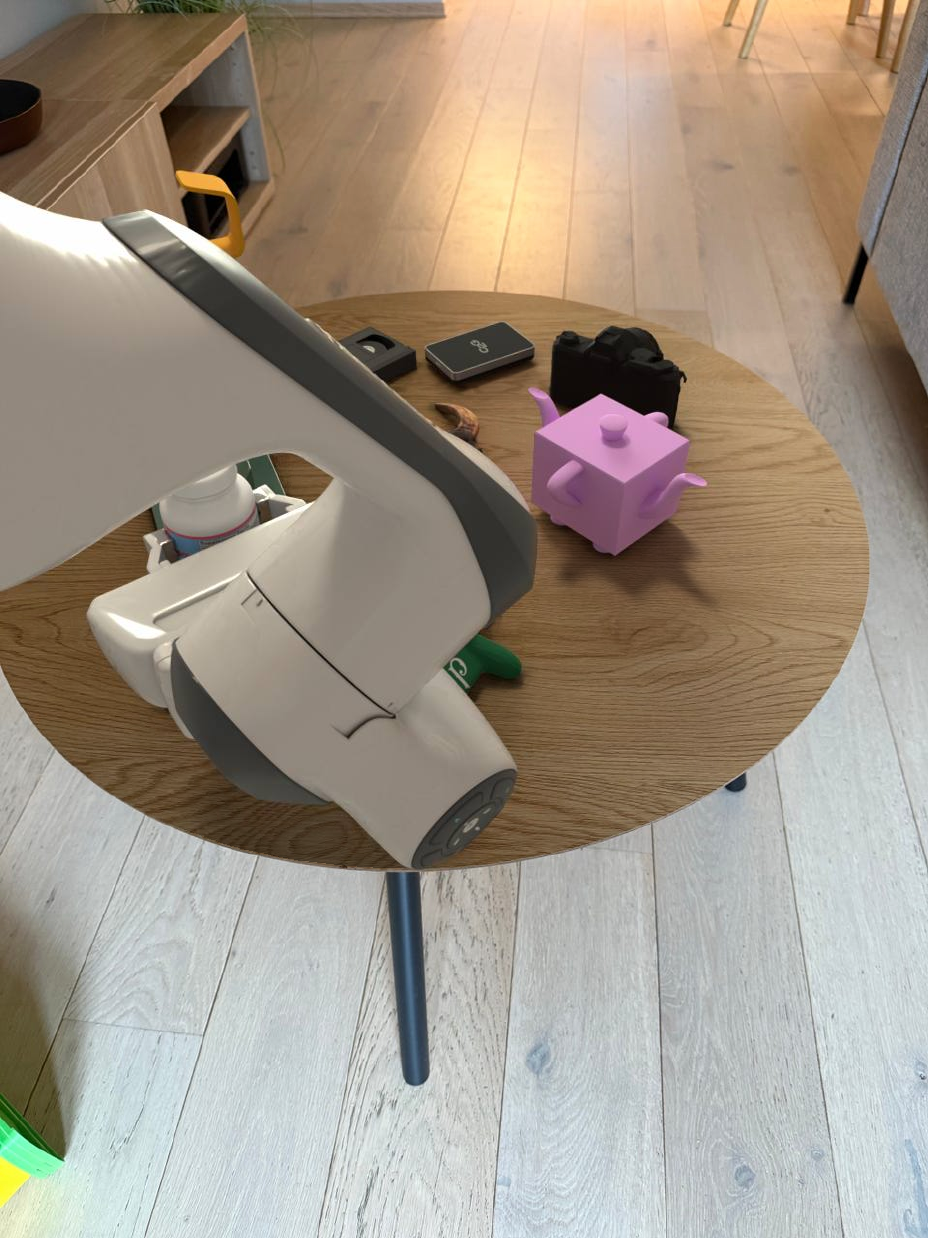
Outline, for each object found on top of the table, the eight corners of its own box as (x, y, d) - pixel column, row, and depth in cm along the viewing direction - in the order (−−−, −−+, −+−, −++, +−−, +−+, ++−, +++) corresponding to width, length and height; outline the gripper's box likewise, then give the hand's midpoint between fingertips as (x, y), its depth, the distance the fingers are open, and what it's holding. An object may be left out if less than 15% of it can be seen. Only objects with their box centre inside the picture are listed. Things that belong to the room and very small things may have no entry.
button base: (164, 553, 86) (153, 519, 83) (147, 490, 92) (136, 456, 90) (292, 520, 89) (286, 486, 86) (267, 461, 96) (260, 428, 93)
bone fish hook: (526, 463, 96) (413, 387, 105) (530, 423, 92) (413, 348, 101) (456, 499, 91) (345, 417, 100) (458, 459, 88) (342, 378, 97)
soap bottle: (194, 398, 104) (136, 165, 86) (275, 379, 106) (234, 149, 88) (212, 442, 98) (154, 202, 80) (297, 421, 100) (258, 184, 83)
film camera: (702, 399, 102) (717, 323, 96) (663, 444, 97) (676, 366, 90) (579, 359, 108) (585, 285, 102) (535, 399, 103) (539, 323, 96)
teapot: (516, 561, 85) (520, 462, 77) (524, 470, 94) (529, 374, 86) (688, 572, 84) (710, 473, 76) (680, 479, 93) (698, 382, 85)
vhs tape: (371, 340, 112) (370, 325, 110) (416, 366, 108) (415, 350, 106) (274, 388, 105) (271, 372, 103) (318, 416, 101) (316, 400, 99)
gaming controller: (500, 675, 78) (455, 621, 76) (530, 666, 75) (483, 609, 73) (442, 754, 72) (391, 697, 71) (471, 747, 69) (419, 688, 68)
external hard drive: (536, 361, 108) (537, 346, 107) (453, 390, 104) (453, 374, 103) (503, 335, 112) (503, 320, 111) (422, 362, 108) (421, 346, 107)
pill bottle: (178, 575, 68) (136, 446, 60) (259, 551, 70) (230, 422, 62) (197, 630, 64) (156, 501, 56) (284, 603, 66) (256, 473, 58)
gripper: (451, 526, 57) (334, 423, 65) (133, 682, 49) (42, 542, 57) (454, 600, 62) (344, 495, 70) (162, 754, 54) (75, 615, 61)
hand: (206, 517), depth 63 cm, fingers closed on pill bottle, 6 cm apart
